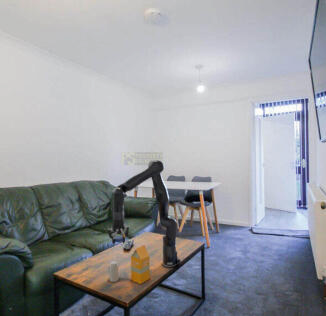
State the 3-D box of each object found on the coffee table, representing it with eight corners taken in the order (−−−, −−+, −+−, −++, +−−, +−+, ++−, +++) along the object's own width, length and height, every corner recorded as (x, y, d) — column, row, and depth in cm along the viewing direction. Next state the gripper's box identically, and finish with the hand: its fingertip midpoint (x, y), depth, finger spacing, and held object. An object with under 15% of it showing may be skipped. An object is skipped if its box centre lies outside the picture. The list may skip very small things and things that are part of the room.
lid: (113, 239, 163) (113, 236, 163) (122, 238, 164) (122, 236, 164) (114, 242, 157) (114, 239, 157) (123, 241, 159) (123, 239, 159)
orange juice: (131, 280, 151) (130, 247, 151) (140, 275, 157) (139, 243, 158) (140, 284, 146) (140, 250, 146) (149, 278, 152) (149, 246, 153)
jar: (116, 277, 155) (116, 260, 155) (119, 280, 150) (119, 263, 150) (108, 278, 153) (108, 261, 153) (111, 282, 148) (110, 265, 148)
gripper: (109, 220, 155) (109, 247, 154) (130, 218, 160) (130, 243, 160) (106, 217, 161) (106, 243, 161) (126, 215, 167) (127, 240, 167)
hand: (118, 243), depth 161 cm, fingers closed on lid, 5 cm apart
